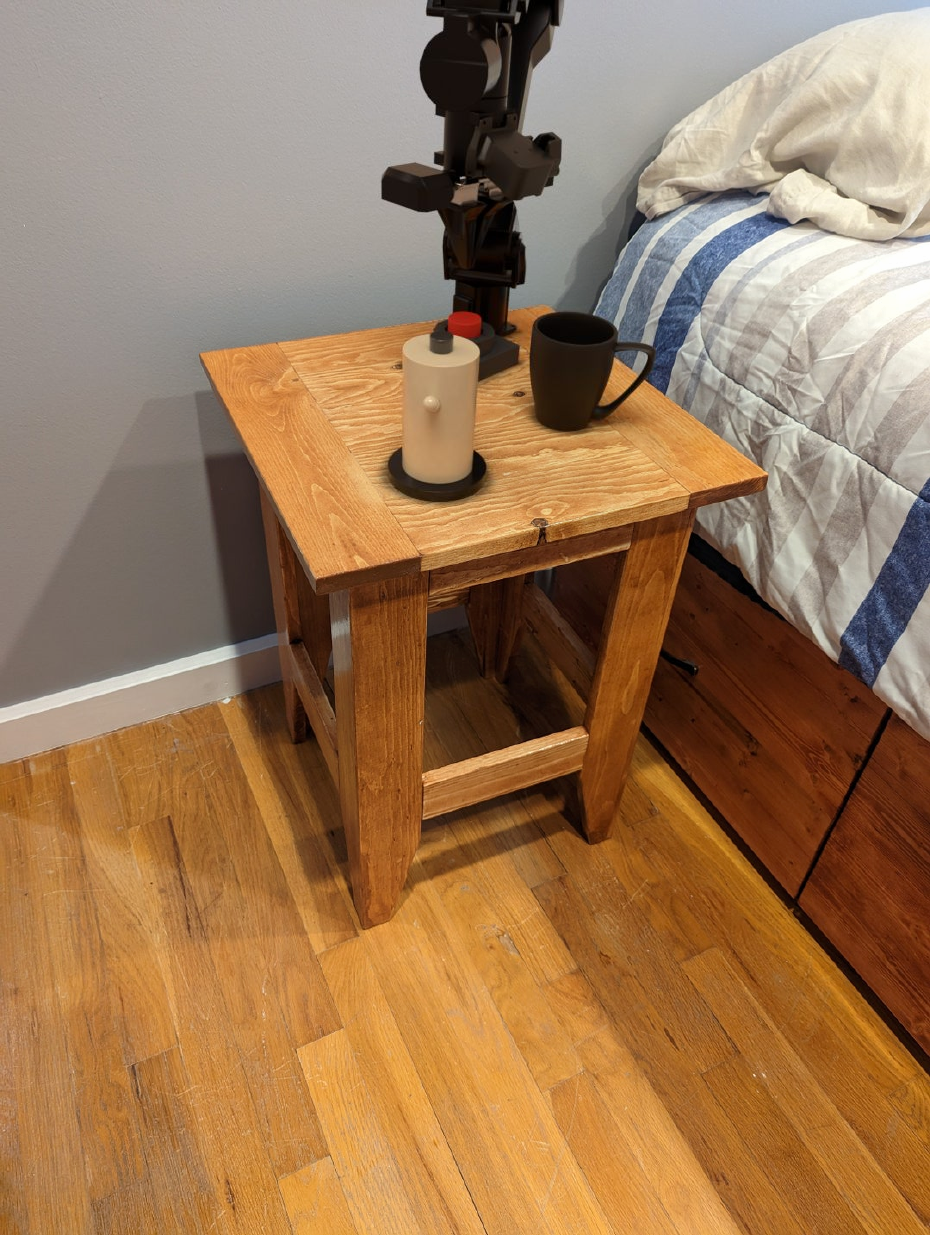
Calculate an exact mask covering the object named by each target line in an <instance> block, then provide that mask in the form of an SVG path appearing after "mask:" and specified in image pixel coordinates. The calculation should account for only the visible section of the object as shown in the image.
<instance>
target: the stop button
mask: <svg viewBox="0 0 930 1235" xmlns="http://www.w3.org/2000/svg"><path fill="white" fill-rule="evenodd" d="M447 319H448V332H450V333H452V334H453V335H456V336H460V337H463V338H475V337H477V336H480V334H481V317H480V316H479V315H477V314H475V313H472V312H455V313H453V312H452V313H450V314H449V315H448V317H447Z"/></svg>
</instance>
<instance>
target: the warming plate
mask: <svg viewBox="0 0 930 1235" xmlns="http://www.w3.org/2000/svg"><path fill="white" fill-rule="evenodd" d="M487 466H488V465H487V463H486V460H485V459H484V457H483V455H481V454H480V453H479V452H478V451H477V450H475V449H474V450H473V465H472V470H471V472H470V473H469V474H468V475H467V476H466V477H465V478H463V479H461V480H459V481H456V482H452V483H445V484H434V483H426V482H422V481H419V480H417V479H414V478H413V477H411V476H409V475H408V474H407V473H406V472H405V471H404V469H403V466H402V446H400V447H399V448H397V449H396V450H395V451H393V452H392V454H391V455H390V456H389V458H388V460H387V477H388V480H389V483H390V484H391V485H392V486H393V487H394V488H395V489H396V490H397V491H399V492H400V493H402V494H403V495H405V496H408V497H410V498H414V499H417V500H422V501H427V502H441V503H442V502H452V501H458V500H462V499H464V498H468V497H470V496H472V495H474V494H475V493H477V492H478V491H480V490H481V489H482V487H483V486H484V485H485V482H486V479H487V470H488V469H487Z"/></svg>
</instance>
